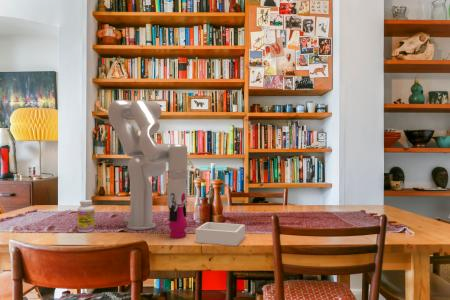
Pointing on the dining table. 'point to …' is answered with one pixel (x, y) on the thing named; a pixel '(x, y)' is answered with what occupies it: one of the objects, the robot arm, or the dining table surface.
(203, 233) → the tote
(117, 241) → the dining table surface
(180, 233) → the pepper mill
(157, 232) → the dining table surface
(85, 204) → the supplement bottle
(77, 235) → the dining table surface
